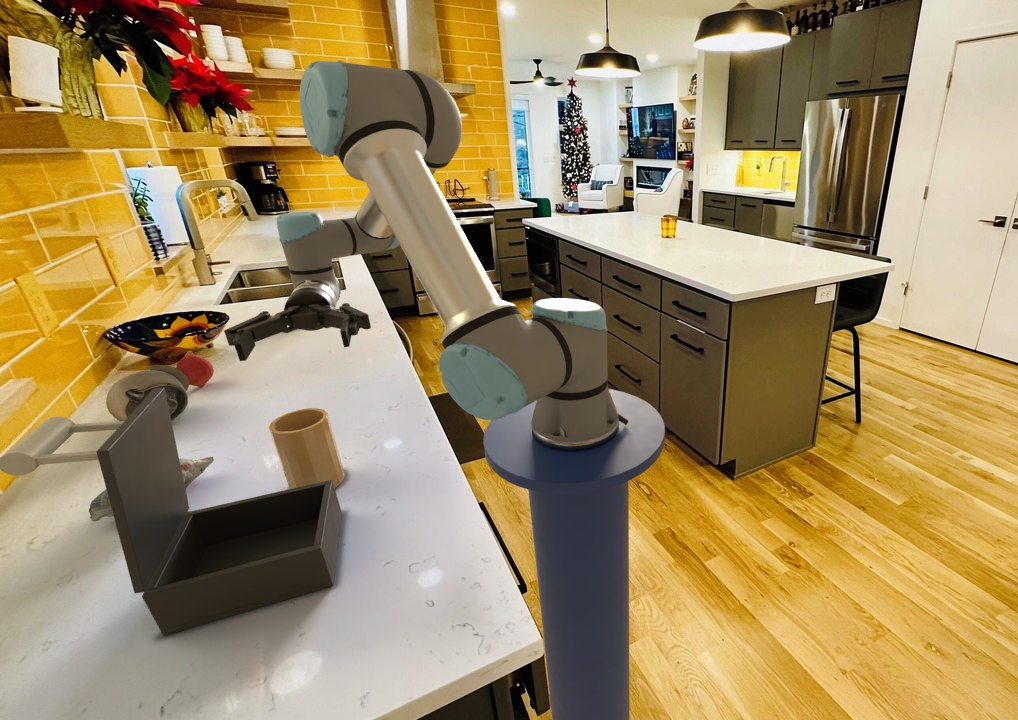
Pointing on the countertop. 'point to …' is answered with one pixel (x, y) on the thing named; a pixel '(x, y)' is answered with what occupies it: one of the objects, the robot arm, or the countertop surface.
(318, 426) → the cup
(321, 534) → the grey lidded box
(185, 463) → the packaged food
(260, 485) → the countertop surface
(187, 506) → the lid
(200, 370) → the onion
